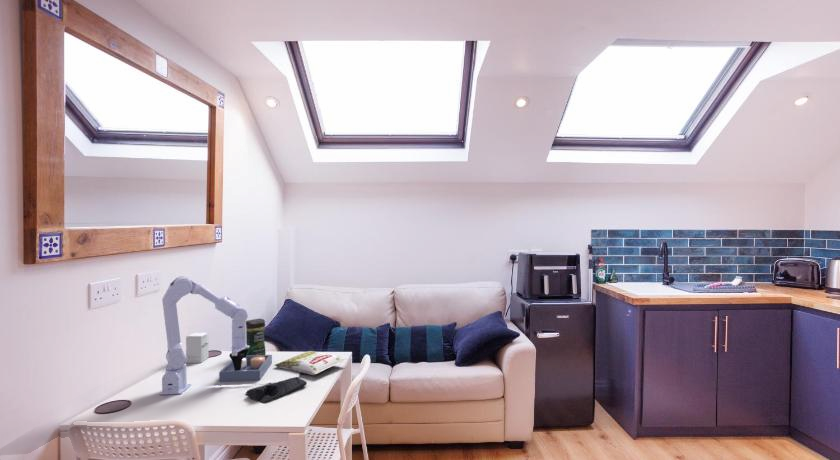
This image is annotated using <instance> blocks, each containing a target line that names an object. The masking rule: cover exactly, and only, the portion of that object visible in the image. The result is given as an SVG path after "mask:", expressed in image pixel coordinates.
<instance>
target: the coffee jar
mask: <svg viewBox="0 0 840 460" xmlns="http://www.w3.org/2000/svg"><path fill="white" fill-rule="evenodd" d="M265 330H266V322H265V319H263V318H254V319H249V320H246V339H247V345H249V346H250V347H249V351H248V353H247V356H251V355H267V354H266V345H265V344H266V342H265Z"/></svg>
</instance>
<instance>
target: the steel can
mask: <svg viewBox="0 0 840 460" xmlns="http://www.w3.org/2000/svg"><path fill="white" fill-rule="evenodd" d="M241 370H247V360H246V357H243V359H242V365H241ZM234 371H239V370H235V369H234Z"/></svg>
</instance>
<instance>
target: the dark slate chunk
mask: <svg viewBox="0 0 840 460" xmlns="http://www.w3.org/2000/svg"><path fill="white" fill-rule="evenodd" d="M307 384H308V383H307V381H306V380H304V379H302V378H300V377H299V376H294V377H290V378H287V379H286V378H285V379H283V380H280V381H277V382H271V383H268V384H263V385H261V386H256V387H252V388H249V389H247V390H246V392H245V394H244V395H245V396H246V397H248V398H249V399H250V400H253V401H255V402H259V403H264V404H266V403H269V402H270V401H274V400H276V399H279V398H282V397H284V396H286V395H288V394H291V393H293V392H296V391H298V390H300V389H301V388H303V387H305V386H306V385H307Z"/></svg>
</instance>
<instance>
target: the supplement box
mask: <svg viewBox="0 0 840 460" xmlns="http://www.w3.org/2000/svg"><path fill="white" fill-rule="evenodd" d="M185 346H186V347H185V348H186V349H185V352H186V353H185V356H186V363H185V364H202V363H203V362H205V361H206V360H208V359H209V332H192V333H191V334H189V335H187V336H185Z"/></svg>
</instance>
